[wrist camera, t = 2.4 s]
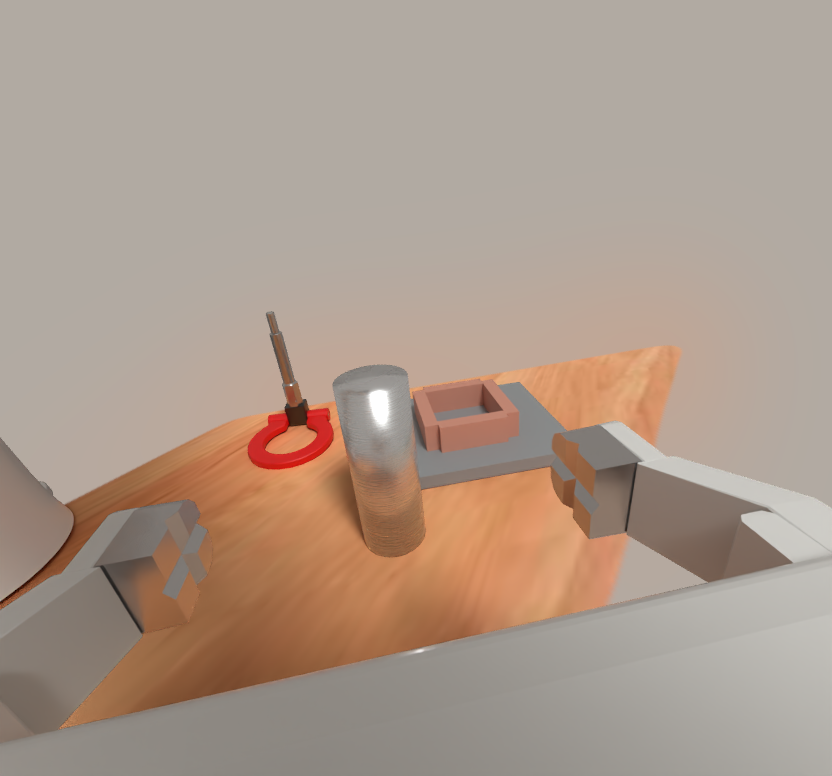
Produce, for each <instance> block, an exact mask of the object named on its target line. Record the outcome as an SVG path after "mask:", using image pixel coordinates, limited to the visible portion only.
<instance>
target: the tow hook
mask: <svg viewBox="0 0 832 776" xmlns="http://www.w3.org/2000/svg"><path fill="white" fill-rule="evenodd" d="M266 316H267V320H268V323H269V326H270V330H271V333H270V338H271V341H272V345H273V348H274V352H275V355H276V358H277V362H278V365H279V369H280V372H281V376H282V379H283V384H282V386H283V389H284V393H285V396H286V399H287V404H286V406H285V412H286V413H283V414H275V415H269V417H268V424H269V425H268V426H267V427H265V428H263V429H262V430H261V431H260V432H258V433H257V434H256V435H255V436H254V437H253V438H252V440H251V441H250V443H249V445H248V455H249V458H250V459H251V461H252V463H253V464H255V465H257V466H258V467H261V468H265V469H285V468H292V467H295V466H298V465H302V464H304V463H306V462H308V461H311V460H313V459H314V458H316V457H317V456H319V455H320V454H322V453H323V452H324V451H325V450H326V449H327V448H328V447H329V446H330V444H331V442H332V440H333V435H334V433H333V429H332V426H331V423H329V422H328V420H330V411H329V409H328V408H324V409H316V410H309V408H308V404H307V401H306V399H303V400H302V397H301V393H300V390H299V386H298V383H297V381H296V380H295V379H294V375H293V372H292V368H291V364H290V361H289V357H288V354H287V350H286V346H285V343H284V339H283V336H282V332H281V331H279V329H278V325H277V322H276V319H275V315H274V312H272V311H271V312H267V313H266ZM304 424H307V426H308V428H311V429H313V430H315V431H316V432H317V433H318V434H317V437H316V438H315V440H314V441H313V442H312V443H311V444H309V445H308V446H306V447H305V448H303V449H300V450H298V451H295V452H292V453H287V454H272V453H269V452H267V451H266V450H265V447H266V444H267V443H268V442H269V441H270V440H271V439H272V438H273V437H275V436H276V435H278V434H280V433H282V432H284V431H286V430H287V428H288V425H290V426H296V425H304Z"/></svg>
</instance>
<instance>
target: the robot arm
mask: <svg viewBox="0 0 832 776" xmlns="http://www.w3.org/2000/svg"><path fill="white" fill-rule="evenodd" d="M552 450H553V451H554V453H555V454H556V455H557V457H556V458H555V460H554V461H553V463H552V464H551V479H552V483H553V488H554V490H555V492H556V494H557V496H558V498H559V499H560V501H561V502H562V503H563V504H564V505H566V506H568V507H570V508H572V509H573V518H574V520H575V521H576V523H577V524H578V525H579V527H580V528H581V529H582V531H583V532H584V533H585V535H586V536H587V537H588V539H593V538H599V537H604V536H610V535H615V534H621V533H627V535H628V536H630V537H632V538H634V539H635V540H637V541H639V542H641V543H642V544H644V545H645V546H647V547H649V548H651V549H652V550H654V551H656V552H657V553H659V554H661V555H663V556H664V557H666V558H668V559H669V560H671V561H673V562H675V563H676V564H678V565H680V566H681V567H683V568H685V569H686V570H688V571H690V572H692V573H693V574H695V575H697V576H698V577H700V578H702V579H703V580H705V581H707V582H708V583H704V584H700V585H695V586H691V587H686V588H682V589H677V590H673V591H668V592H664V593H660V594H655V595H651V596H646V597H642V598H637V599H633V600H629V601H625V602H620V603H615V604H611V605H606V606H602V607H598V608H593V609H589V610H584V611H580V612H576V613H571V614H567V615H562V616H558V617H553V618H549V619H545V620H540V621H536V622H531V623H527V624H522V625H518V626H514V627H509V628H505V629H500V630H496V631H492V632H487V633H483V634H478V635H474V636H469V637H465V638H461V639H456V640H452V641H447V642H443V643H439V644H434V645H430V646H425V647H421V648H416V649H412V650H408V651H403V652H399V653H394V654H390V655H386V656H381V657H377V658H372V659H368V660H364V661H359V662H355V663H350V664H346V665H341V666H337V667H333V668H328V669H324V670H319V671H315V672H311V673H306V674H302V675H297V676H293V677H289V678H284V679H280V680H275V681H271V682H266V683H262V684H258V685H253V686H249V687H244V688H240V689H236V690H231V691H227V692H222V693H218V694H214V695H209V696H205V697H200V698H196V699H191V700H187V701H183V702H178V703H174V704H169V705H165V706H161V707H156V708H152V709H147V710H143V711H139V712H134V713H130V714H125V715H121V716H117V717H112V718H108V719H103V720H99V721H94V722H90V723H86V724H81V725H77V726H72V727H68V728H64V729H59V728H60V726H61V725H62V724H63V723H64V722H65V721H66V720H67V719H68V718H69V717H70V715H71V714H72V713H73V712H74V711H75V710H76V709H77V708H78V707H79V706H80V705H81V703H82V702H83V701H84V700H85V699H86V698H87V697H88V696H89V695H90V694H91V692H92V691H93V690H94V689H95V688H96V687H97V686H98V685H99V684H100V683H101V682H102V680H103V679H104V678H105V677H106V676H107V675H108V674H109V673H110V672H111V671H112V669H113V668H114V667H115V666H116V665H117V664H118V663H119V662H120V661H121V660H122V659H123V657H124V656H125V655H126V654H127V653H128V652H129V651H130V650H131V649H132V648H133V646H134V645H135V644H136V643H137V642H138V641H139V640H140V639H141V638H142V636H143V635H142V634H144V633H149V632H153V631H157V630H161V629H165V628H170V627H174V626H178V625H182V624H187V623H189V620H190V618H191V615H192V613H193V610H194V608H195V605H196V603H197V600H198V598H199V595H200V592H199V590H198V587H197V584H198V583H199V582H200V581H201V580H202V579H203V578H205V577H206V576H207V575H208V572H209V569H210V567H211V564H212V555H213V547H212V541H211V537H210V535H209V532H208V530H207V529H205V528H204V527H202V526H200V525H199V524H197V521H198V519H199V516H200V512H199V510H198V508H197V506H196V504H195V502H193V501H191V500H182V501H176V502H170V503H163V504H157V505H151V506H145V507H140V508H133V509H127V510H122V511H117V512H114V513H112V514H110V515H108V516H107V518H106V519H105V520H104V521H103V522H102V524H101V525H100V526H99V527H98V529H97V530H96V531H95V532H94V534H93V535H92V536H91V537H90V539H89V540H88V541H87V542H86V543H85V545H84V546H83V547H82V548H81V550H80V551H79V552H78V553H77V555H76V556H75V557H74V558H73V560H72V561H71V562H70V563H69V564H68V566H67V567H66V568H65V569H64V571H63V572H62V573H61V574H59V575H54V576H51V577H49V578H48V579H46V580H45V581H43V582H42V583H40V584H39V585H37V586H36V587H34V588H33V589H31V590H30V591H28V592H27V593H25V594H24V595H22V596H21V597H19V598H18V599H16V600H15V601H13V602H12V603H10V604H9V605H7V606H6V607H4V608H3V609H1V610H0V776H832V508H830V507H829V506H827V505H826V504H824V503H822V502H821V501H819V500H817V499H816V498H813V497H810V496H807V495H803V494H800V493H797V492H793V491H790V490H786V489H783V488H780V487H776V486H773V485H770V484H766V483H763V482H759V481H756V480H753V479H750V478H746V477H743V476H739V475H736V474H733V473H729V472H726V471H722V470H719V469H716V468H712V467H709V466H706V465H703V464H699V463H696V462H692V461H689V460H686V459H682V458H678V457H675V456H671V457H666V456H665V455H664V454H662V453H661V452H660V451H658V450H657V449H656V448H654V447H653V446H652V445H651V444H649V443H648V442H647V441H645V440H644V439H643V438H641V437H640V436H639V435H637V434H636V433H635V432H634V431H632V430H631V429H630V428H628V427H627V426H626V425H624V424H623V423H622V422H618V421H612V422H607V423H603V424H598V425H595V426H591V427H585V428H580V429H575V430H570V431H565V432H560V433H555V434H554V436H553V439H552ZM73 523H74V517H73V513H72V511H71V510H70V509H69V508H67V507H66V506H65V505H64V504H62V503H61V502H60V501H58V500H57V499H56V498H55V497H54V496H53V492H52V490H51V489H50V488H49V487H48V485H47V484H46V483H44V482H39V481H37V479H36V478H35V477H34V476H33V475H32V474H31V473H30V472H29V471H28V469H27V468H26V467H25V466H24V465H23V464H22V463H21V461H20V460H19V459H18V458H17V457H16V456H15V454H14V453H13V452H12V451H11V450H10V448H9V447H8V446H7V445H6V444H5V443H4V441H3V440H2V439H1V438H0V601H1V600H3V599H4V598H5V597H7V596H8V595H9V594H11V593H12V592H13V591H15V590H16V589H17V588H19V587H20V586H21V585H22V584H24V583H25V582H26V581H27V580H29V579H30V578H31V577H32V576H33V575H34V574H36V573H37V572H38V571H39V570H40V569H41V568H42V567H43V566H44V565H45V564H46V563H47V562H48V561H49V560H50V559H51V558H52V557H53V556H54V555H55V554H56V553H57V551H58V550H59V549H60V548H61V546H62V545H63V544H64V542H65V541H66V539H67V538H68V536H69V534H70V532H71V530H72V527H73ZM58 729H59V730H58Z"/></svg>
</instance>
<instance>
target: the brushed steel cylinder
mask: <svg viewBox="0 0 832 776" xmlns="http://www.w3.org/2000/svg"><path fill="white" fill-rule="evenodd" d="M333 391H334V396H335V400H336V405H337V410H338V415H339V420H340V424H341V429H342V434H343V439H344V444H345V448H346V453H347V458H348V463H349V468H350V473H351V477H352V482H353V487H354V492H355V497H356V501H357V506H358V511H359V516H360V521H361V525H362V530H363V535H364V540H365V543H366V545H367V547H368V548H369V549H370V550H371V551H372V552H374V553H375V554H377V555H380V556H384V557H397V556H402V555H405V554H407V553H409V552H411V551H413V550H414V549H416V548H417V547H418V546H419V545H420V544H421V542H422V541H423V539H424V536H425V532H426V528H425V519H424V511H423V502H422V494H421V485H420V477H419V468H418V460H417V451H416V443H415V434H414V426H413V417H412V408H411V400H410V391H409V384H408V376H407V372H406V371H405V370H404V369H402V368H400V367H397V366H392V365H370V366H364V367H360V368H356V369H353V370H350V371H348V372H345V373H344V374H342V375H340V376H339V377H337V378H336V379H335V380H334V382H333Z"/></svg>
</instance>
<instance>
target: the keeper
mask: <svg viewBox="0 0 832 776" xmlns="http://www.w3.org/2000/svg"><path fill="white" fill-rule="evenodd" d="M410 400H411V408H412V417H413V426H414V434H415V443H416V451H417V460H418V468H419V477H420V485H421V489H427V488H432V487H438V486H443V485H449V484H454V483H460V482H465V481H471V480H477V479H482V478H488V477H493V476H499V475H504V474H510V473H515V472H521V471H526V470H532V469H537V468H543V467H548V466H551V464H552V463H553V461H554V460H555V458H556V457H557V455H556V454H555V453H554V451H553V450H552V439H553V436H554V434H555V433H560V432H565V431H567V430H566V429H565V428H564V427H563V426H562V425H561V424H560V423H559V422H558V421H557V420H556V419H555V418H554V417H553V416H552V415H551V414H550V413H549V412H548V411H547V410H546V409H545V408H544V407H543V406H542V405H541V404H540V403H539V402H538V401H537V400H536V399H535V398H534V397H533V396H532V395H531V394H530V393H529V392H528V391H527V390H526V389H525V388H524V386H523V385H522V384H521V383H520V382H516V383H510V384H503V385H497V384H496V383H495V382H494V381H493V380H485V381H481V380H480V379H475V380H469V381H463V382H456V383H450V384H443V385H437V386H430V387H424V388H423V390H421V391H415V392H413V399H410Z"/></svg>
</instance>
